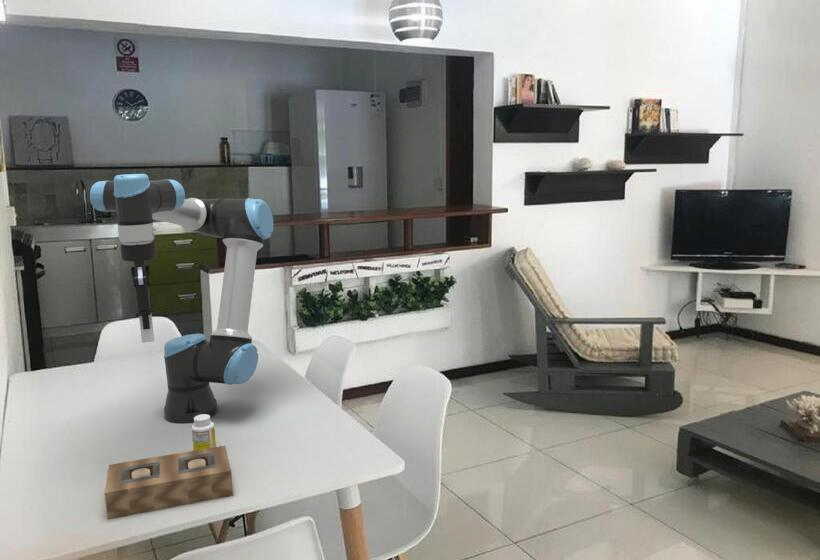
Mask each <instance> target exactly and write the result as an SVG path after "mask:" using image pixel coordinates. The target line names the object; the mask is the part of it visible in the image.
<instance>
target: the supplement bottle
mask: <svg viewBox="0 0 820 560" xmlns="http://www.w3.org/2000/svg"><path fill="white" fill-rule="evenodd" d="M211 420H212V419H211V417H210V415H207V414H201V415H197V416H195V417H194V422H193V424H192V426H191V435H192V437H191V438H192V446H193V451H195V450H201V449H207V448H213V447H217V440H216V432H215V430H216V429H215V424H214V422H213V421H211Z"/></svg>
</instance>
